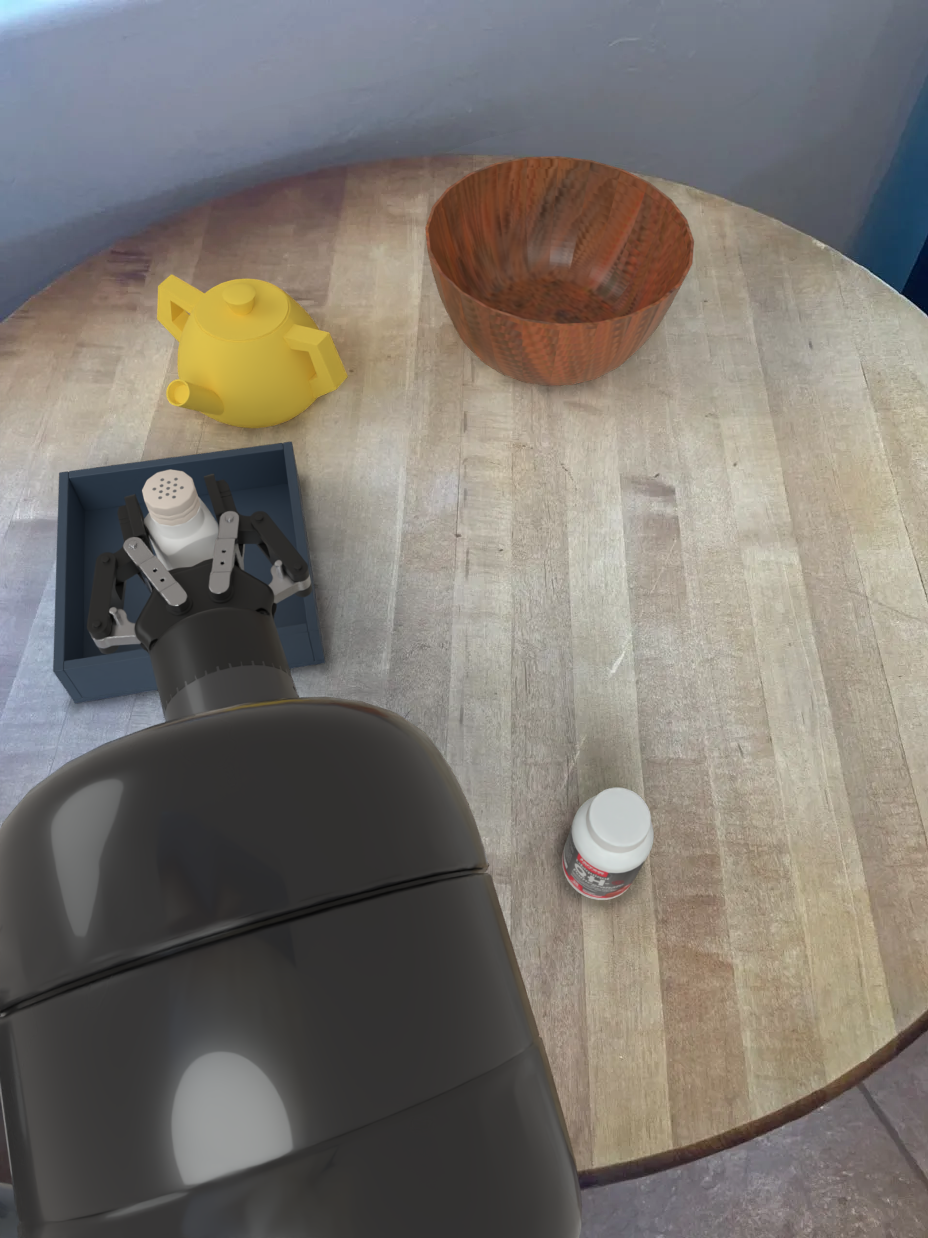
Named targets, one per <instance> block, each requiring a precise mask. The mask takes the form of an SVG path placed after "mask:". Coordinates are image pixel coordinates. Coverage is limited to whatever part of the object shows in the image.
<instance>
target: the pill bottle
mask: <svg viewBox="0 0 928 1238" xmlns="http://www.w3.org/2000/svg"><path fill="white" fill-rule="evenodd" d="M654 838H655V831H654V825H653V822H652V814H651V812H650V808H649V806H648V804H647V803H646V801H645V800H644V799H643V798H642V797H641V795H640V794H638V793H637V792H635V791H633V790H631V789H629V788H626V787H619V786H617V787H616V786H614V787H609V788H606V789H603V790H602V791H600V792H598V794H596V795H594V796H592V797H590V798H588V799H587V800H586V801H584V802H583V803H582V804H581V806H579V808H578V809H577V811H576V813H575V815H574V816H573V819H572V823H571V826H570V829H569V832H568V835H567V838H566V840H565V843H564V846H563V849H562V850H563V851H562V855H561V867H562V871H563V874H564V877H565V878H566V880H567V882H568V883H569V885H570V886H571V887H572V888H573V890H575V891H576V892H577V893H579V894H581V896H584V897H586V898H588V899H591V900H596V901H607V900H613V899H614V898H618V897H620V896H621V895H623V894H624V893H625V892H626V891H627V890H629V888H630V887H631V886H632V884H633V882H634V881H635V879H636V878H637V876H638V874H639V873H640V871H641V869H642V867H644V866H643V865H644V864H645V862H646V860H647V859H648V857H649V855H650V853H651V851H652V848H653V843H654V840H655V839H654Z"/></svg>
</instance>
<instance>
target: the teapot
mask: <svg viewBox="0 0 928 1238" xmlns="http://www.w3.org/2000/svg"><path fill="white" fill-rule="evenodd" d="M156 306H157V307H156V308H157V310H156V320H157V321H158V322H159V323H160V324H161V325H162V326H163V327H164V328H165V329H166V330H167V331H168V333H169V334H170V335H171V336H172V337H173V338H174V339H175V340H176V341H177V342H178V347H177V359H176V360H177V362H176V363H177V364H176V365H177V376H178V378H175V379H173V380H172V381H170V383H169V384H168V385H167V387H166V391H165V396H166V399H167V401H168V402H169V404H170V405H172V406H174V407H177V408H181V409H185V410H191V411H194V412H195V411H196V412H199V413H201V414H203V415H204V416H206V417H208V418H210V419H212V420H214V421H217V422H219V423H221V424H226V425H229V426H232V427H235V428H236V427H237V428H241V429H242V428H243V429H264V428H270V427H274V426H278V425H282V424H284V423H286V422H288V421H290V420H293V419H295V418H296V417H297V416H299V415H300V414H302V413H304V411H305V410H307V409H308V408H310V406H311V405H312V404H313V403H315V401H316V400H317V399H318V398H319V397H322V396H324V395H327V394H329V393H332V392H334V391H336V390H338V388H339V387H340V386H341V385H342V384H343V383H344V382H345V381H346V379H347V378H348V376H349V375H348V373H347V371H346V369H345V366H344V364H343V362H342V361H343V360H342V359H341V357H340V354H339V352H338V349H337V348H336V345H335V343H334V340H333V337H332V336H331V333H330V331H329V332H328V331H325V330H321V329H320V328H319V326H318V325H317V323H316V322H315V320H314V319H313V318H312V317H311V315H310V314H309V312H308V311H306V309H305V308H304V307H303V306H301V305H300V304H299V303H298V302H297V301H296V300H295V299H294V298H293V297H292V296H291V295H290V294H288V292H286V291H284V290H283V289H281V287H279V286H277V285H275V284H274V283H271V282H268V281H266V280H262V279H257V278H236V279H230V280H227V281H224V282H221V283H219V284H217V285H215V286H213V287H211V288H210V289H209V290H207V291H206V292H203V291H201V290H200V289H198V288H197V287H195V286H194V285H192V284H190V283H188V282H186V281H184V280H183V279H182V278H179V277H177V276H176V275H174V274H172V273H171V274H170V275H169V276H167V277H166V278H165V279H164V280H163V281H161V283H160V284H159V285H158V286H157V305H156Z"/></svg>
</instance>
